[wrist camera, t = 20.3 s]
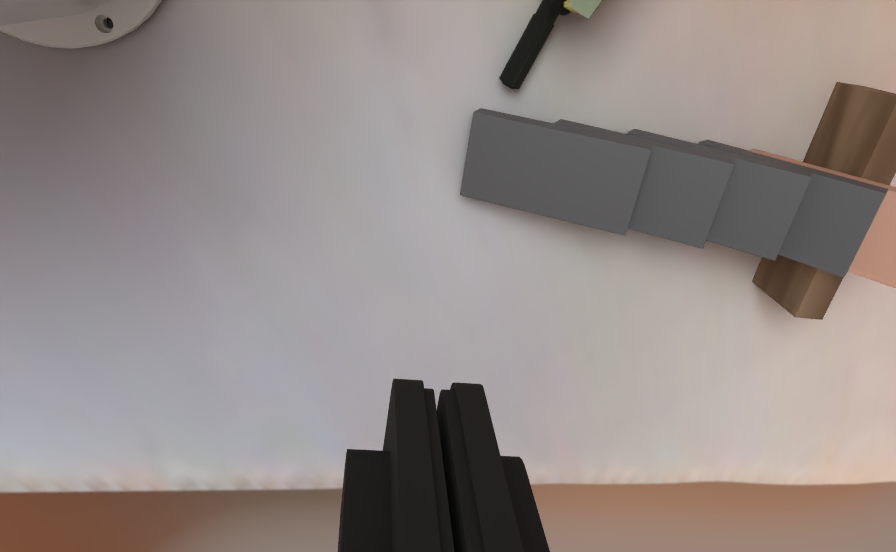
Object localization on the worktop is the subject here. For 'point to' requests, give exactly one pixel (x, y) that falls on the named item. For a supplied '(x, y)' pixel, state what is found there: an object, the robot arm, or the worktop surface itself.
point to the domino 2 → (675, 189)
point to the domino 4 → (825, 216)
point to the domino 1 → (554, 170)
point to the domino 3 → (751, 200)
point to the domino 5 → (870, 233)
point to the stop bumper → (847, 151)
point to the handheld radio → (540, 36)
